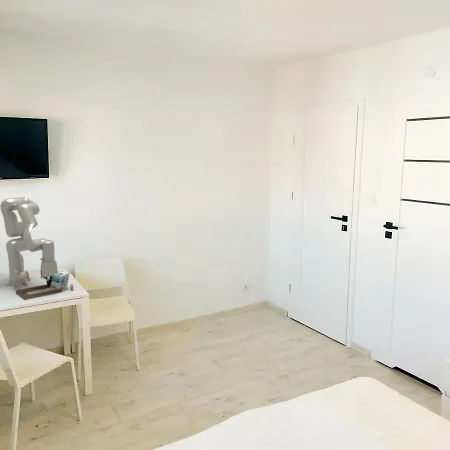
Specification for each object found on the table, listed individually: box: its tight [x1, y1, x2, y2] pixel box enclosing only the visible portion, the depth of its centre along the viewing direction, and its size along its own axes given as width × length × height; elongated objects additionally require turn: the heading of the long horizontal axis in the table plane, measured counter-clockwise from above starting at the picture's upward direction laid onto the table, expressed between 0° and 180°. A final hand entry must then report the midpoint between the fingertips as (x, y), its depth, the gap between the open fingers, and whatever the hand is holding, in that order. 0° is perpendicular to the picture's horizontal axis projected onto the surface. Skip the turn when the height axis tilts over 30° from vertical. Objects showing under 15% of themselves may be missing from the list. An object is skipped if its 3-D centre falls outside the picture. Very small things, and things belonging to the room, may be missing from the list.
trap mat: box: [16, 292, 30, 300], centre depth 295 cm, size 12×6×1 cm, turn 43°
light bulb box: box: [50, 270, 70, 291], centre depth 308 cm, size 11×7×11 cm, turn 169°
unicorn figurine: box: [13, 270, 31, 290], centre depth 311 cm, size 7×20×13 cm, turn 4°
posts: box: [69, 283, 74, 292], centre depth 313 cm, size 18×2×4 cm, turn 43°
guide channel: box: [15, 283, 63, 300], centre depth 301 cm, size 15×24×2 cm, turn 133°
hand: (49, 285), depth 306 cm, fingers closed
